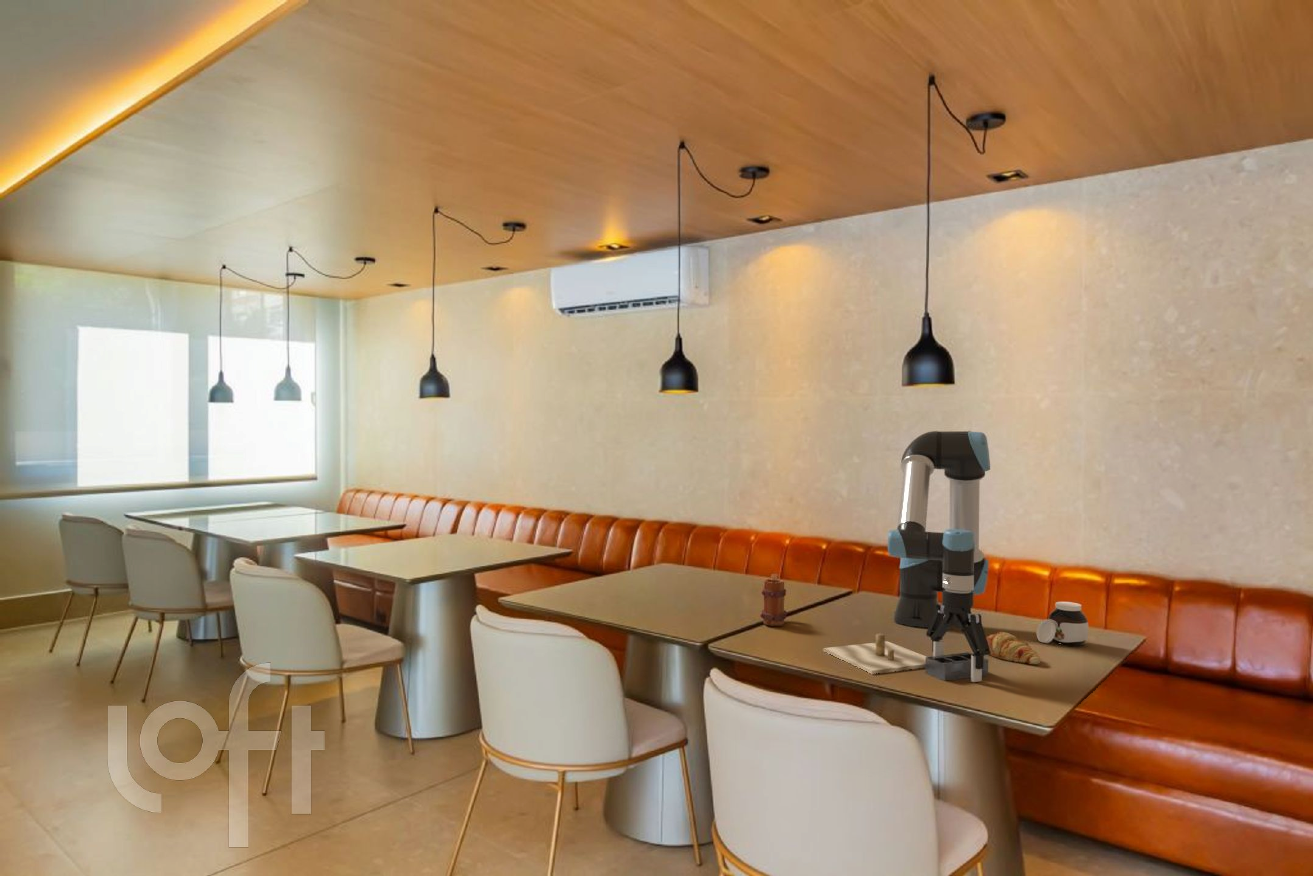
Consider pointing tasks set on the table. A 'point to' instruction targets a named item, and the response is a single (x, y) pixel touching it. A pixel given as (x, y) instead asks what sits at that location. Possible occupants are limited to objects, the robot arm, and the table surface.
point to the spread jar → (1064, 625)
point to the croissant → (1011, 648)
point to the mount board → (879, 656)
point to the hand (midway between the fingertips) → (956, 673)
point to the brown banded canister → (773, 601)
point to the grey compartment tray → (952, 666)
